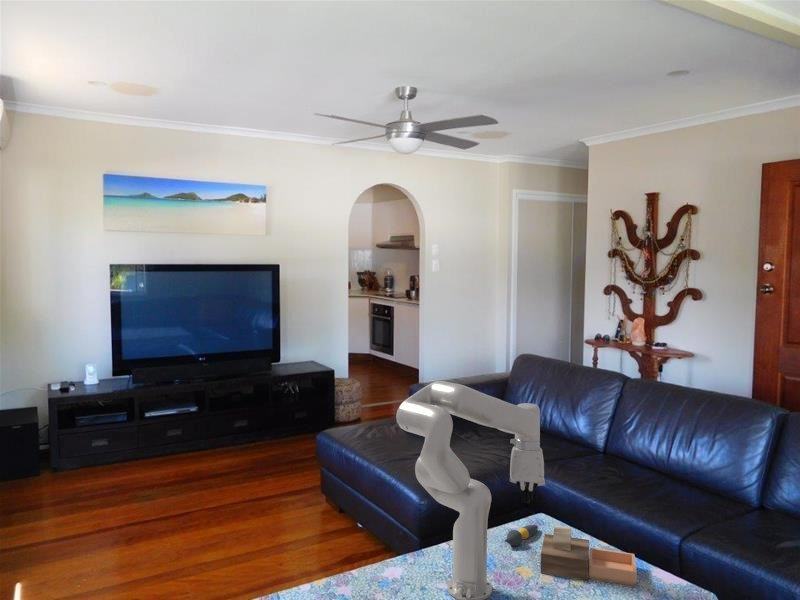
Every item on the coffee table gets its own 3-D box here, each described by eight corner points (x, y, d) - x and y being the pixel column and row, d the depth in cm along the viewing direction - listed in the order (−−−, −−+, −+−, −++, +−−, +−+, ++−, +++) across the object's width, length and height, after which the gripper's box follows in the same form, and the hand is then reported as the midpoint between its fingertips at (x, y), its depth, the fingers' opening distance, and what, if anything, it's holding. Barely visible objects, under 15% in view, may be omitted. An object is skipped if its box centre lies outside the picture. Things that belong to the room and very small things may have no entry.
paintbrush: (527, 527, 212) (527, 513, 211) (540, 531, 209) (540, 517, 208) (501, 548, 196) (501, 533, 195) (515, 553, 193) (515, 537, 192)
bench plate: (588, 580, 175) (588, 560, 175) (540, 573, 180) (540, 553, 179) (588, 558, 189) (589, 539, 188) (544, 552, 193) (544, 533, 192)
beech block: (570, 550, 181) (570, 534, 181) (553, 548, 182) (553, 532, 182) (571, 543, 186) (571, 527, 185) (554, 541, 187) (554, 525, 187)
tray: (636, 586, 172) (636, 572, 172) (588, 579, 176) (589, 565, 176) (634, 566, 183) (634, 553, 183) (589, 560, 188) (589, 547, 187)
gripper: (501, 445, 185) (501, 503, 186) (551, 449, 180) (550, 509, 181) (504, 438, 192) (504, 494, 193) (553, 442, 187) (552, 500, 188)
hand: (527, 501), depth 187 cm, fingers closed
